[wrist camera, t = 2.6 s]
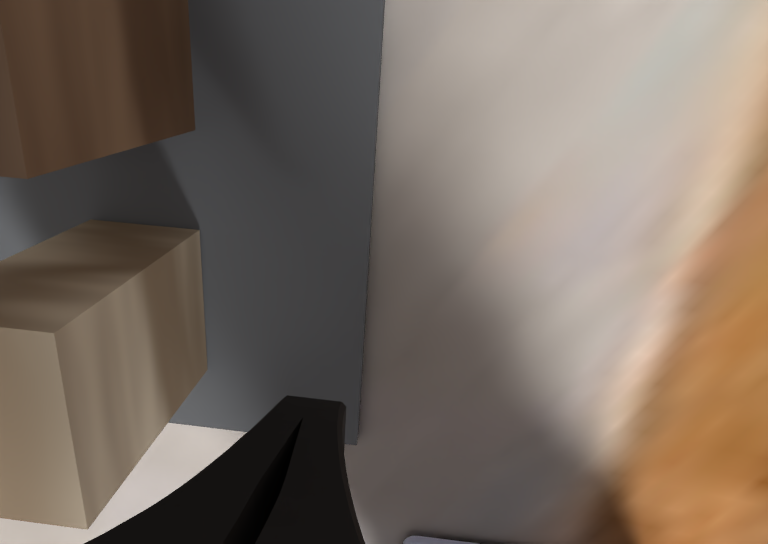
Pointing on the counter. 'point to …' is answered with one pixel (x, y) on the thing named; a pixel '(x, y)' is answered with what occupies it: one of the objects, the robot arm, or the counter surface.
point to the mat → (253, 200)
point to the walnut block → (90, 80)
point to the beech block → (93, 362)
